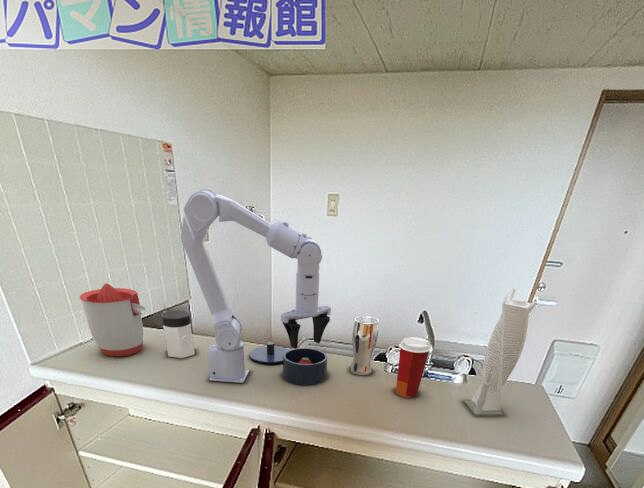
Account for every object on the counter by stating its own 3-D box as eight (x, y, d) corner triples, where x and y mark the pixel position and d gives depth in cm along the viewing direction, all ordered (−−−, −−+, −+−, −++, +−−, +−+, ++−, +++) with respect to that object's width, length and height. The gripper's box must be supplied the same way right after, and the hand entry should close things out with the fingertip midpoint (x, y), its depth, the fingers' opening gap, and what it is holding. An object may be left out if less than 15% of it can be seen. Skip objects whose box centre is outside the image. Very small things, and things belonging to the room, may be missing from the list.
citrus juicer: (144, 361, 120) (129, 291, 109) (86, 359, 120) (65, 289, 109) (160, 342, 133) (148, 278, 121) (107, 340, 133) (90, 276, 121)
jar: (175, 360, 121) (168, 320, 114) (162, 353, 126) (154, 314, 119) (201, 353, 126) (196, 314, 119) (187, 346, 131) (181, 308, 124)
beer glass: (372, 377, 115) (379, 325, 106) (347, 374, 116) (353, 322, 107) (373, 367, 120) (380, 317, 112) (350, 365, 121) (355, 315, 113)
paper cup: (422, 389, 109) (433, 338, 101) (419, 401, 103) (430, 349, 95) (393, 384, 111) (402, 334, 103) (389, 396, 105) (397, 344, 97)
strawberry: (300, 378, 112) (301, 362, 109) (295, 372, 115) (295, 356, 112) (314, 376, 113) (315, 360, 111) (308, 370, 117) (309, 355, 114)
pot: (280, 383, 110) (279, 363, 107) (286, 365, 120) (286, 346, 117) (324, 386, 109) (325, 366, 106) (327, 368, 119) (328, 349, 116)
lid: (245, 363, 120) (244, 349, 118) (254, 347, 131) (253, 334, 129) (288, 366, 119) (288, 352, 117) (294, 350, 130) (294, 337, 128)
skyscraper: (461, 399, 105) (494, 286, 89) (491, 399, 105) (529, 287, 89) (475, 415, 98) (513, 297, 82) (507, 415, 99) (551, 297, 82)
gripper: (320, 285, 108) (318, 335, 115) (274, 292, 101) (275, 345, 108) (337, 291, 103) (333, 343, 111) (289, 299, 96) (289, 353, 104)
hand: (305, 344), depth 109 cm, fingers open, 7 cm apart
